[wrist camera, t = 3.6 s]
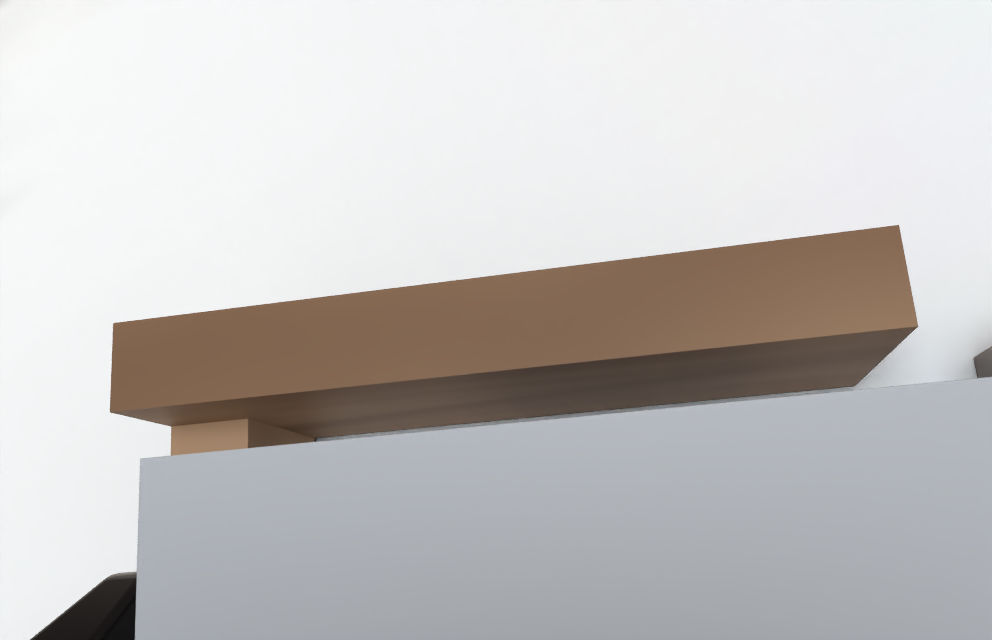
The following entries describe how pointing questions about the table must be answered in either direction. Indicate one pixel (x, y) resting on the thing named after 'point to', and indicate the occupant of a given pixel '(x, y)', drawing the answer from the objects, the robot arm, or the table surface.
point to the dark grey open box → (984, 363)
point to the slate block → (591, 527)
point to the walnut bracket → (522, 344)
